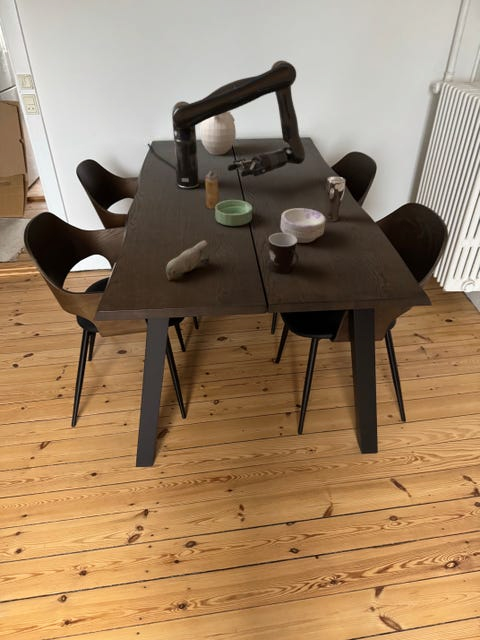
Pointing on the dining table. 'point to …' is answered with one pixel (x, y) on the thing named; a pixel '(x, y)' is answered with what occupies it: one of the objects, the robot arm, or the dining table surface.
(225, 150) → the pitcher
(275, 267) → the coffee mug
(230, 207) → the serving bowl
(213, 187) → the pepper mill
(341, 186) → the beer glass
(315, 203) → the dining table surface
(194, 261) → the decorative bird
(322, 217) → the paper bowls
